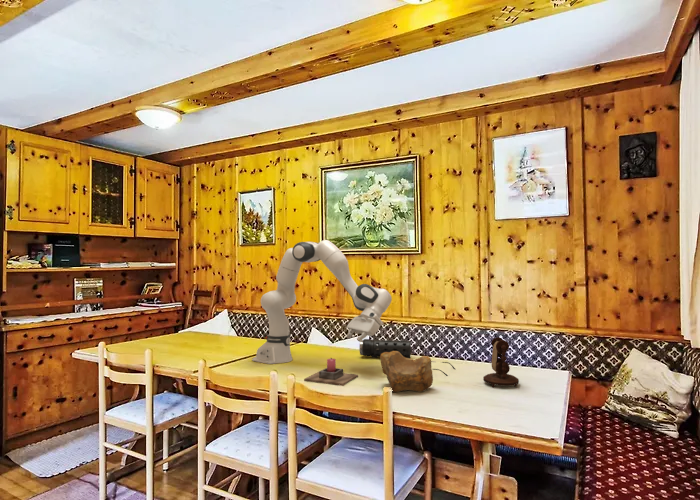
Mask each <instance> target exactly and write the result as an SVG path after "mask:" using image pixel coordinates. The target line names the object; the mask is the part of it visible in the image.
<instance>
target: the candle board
mask: <svg viewBox="0 0 700 500" xmlns="http://www.w3.org/2000/svg"><path fill="white" fill-rule="evenodd" d="M357 378H359V375H358V374H354V373H345V372H344V368H336V372H335V373H334V372H327V367H326V368H324V369H321V370H320V371H319V370H318V371H317V372H315V373H313V374H311V375H309V376H307V377H305V378H303V380H304V382H310V383H318V384H325V385H326V384H327V385H332V386H333V385H335V386H342V387H343V386H345V385H347V384H349V383H350V382H352V381H354V380H355V379H357Z"/></svg>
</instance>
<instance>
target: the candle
mask: <svg viewBox="0 0 700 500" xmlns="http://www.w3.org/2000/svg"><path fill="white" fill-rule="evenodd" d="M336 364H337V363H336V358H332V357H330V358H327V359H326V368H327V372H334V373H335V372H336V367H337V365H336Z"/></svg>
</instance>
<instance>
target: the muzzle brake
mask: <svg viewBox="0 0 700 500" xmlns="http://www.w3.org/2000/svg"><path fill="white" fill-rule="evenodd" d="M411 345H412V344H411V340H398V339H397V340H395V339H393V340H389V339H387V340H386V339H385V340H384V339H374V340H373V339H371V338H364V339H362V341H361V342H359V355H361V356H363V357H371V358H372V359H378V358H380V356H381V354H382V353H384V352H391V351H398V352H400V353H401V354H402V356H403V357H405V358H409V359H411V356H412V354H411V353H412V348H411V347H412V346H411Z"/></svg>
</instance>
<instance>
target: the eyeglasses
mask: <svg viewBox="0 0 700 500" xmlns="http://www.w3.org/2000/svg"><path fill="white" fill-rule="evenodd" d="M431 363H435V361H433V360H431ZM441 363H443V364H449V365H450V366H451V367H452V369H453V370H456V368H455V367H454V365H453V364H452V363H450V362H447V361H441ZM431 370H432V371H440V372H441V373H442V374H444V375H445V376H447V377H448V376H449V375H448V374H447V373H445V372H444V371H442V370H441V369H438V368H431Z"/></svg>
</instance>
